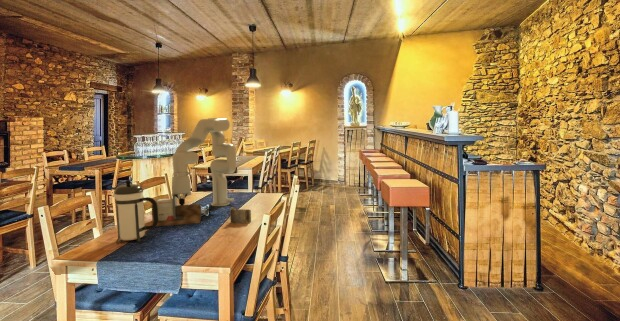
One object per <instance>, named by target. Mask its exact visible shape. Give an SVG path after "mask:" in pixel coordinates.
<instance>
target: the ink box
mask: <svg viewBox="0 0 620 321" xmlns="http://www.w3.org/2000/svg"><path fill="white" fill-rule="evenodd" d="M158 199H159V200H158V201H157V209H158V221H163V220H174V218H173V200H172V198H158Z"/></svg>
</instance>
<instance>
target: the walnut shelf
mask: <svg viewBox="0 0 620 321" xmlns="http://www.w3.org/2000/svg"><path fill="white" fill-rule="evenodd" d="M159 199H160V198H156V199H154V200H155V201H156V204H157V201H158V200H159ZM157 211H158V209H157ZM177 213H178V215H184V214H185V216H184V219H183V220H163V221H158V223H157V225H156V227H161V226H162V227H163V226H175V225H177V226H178V225H188V224H189V225H191V224H200V223H201V219H202V204H201V203H193V204H191V203H190V204H184V205H183V206H180V204H177ZM151 218H152V221H151V222H152V224H153V223H154V214H153V205H152V204H151Z"/></svg>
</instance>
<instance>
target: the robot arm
mask: <svg viewBox="0 0 620 321" xmlns="http://www.w3.org/2000/svg"><path fill="white" fill-rule="evenodd" d="M230 126H231V124H230V120H229V119H228V118H226V117H209V118H202V119H200V120H198V122H197V124H196V125H195V128H194V130H193V131H192V133H191V135H190V136H189V137H187V138H186V139H185V140H183V141H182V142H181V143H179V145H178V146H177V148H176V150H175V152H174V153H173V154H172V167H173V168H172V170H173V171H172V174H173V176H172V179H171V197H172V196H173V195H175V196H176V197H177V200H178V205H180V206H183V205H186V197H188V196H192V192H191V189H192V188H191V180H190V176H189V175H191V172H190V171H188V165H194V164H196V163H198V161H199V155H198V153H197V152H196V151H195V152H194V151H189V150H191V149H193V148H196V147H199V146H201V145H203V144H204V142H205V141H206V139H207V136H208V134H209V133H210V135H211V140H212V141H211V142H212V143H211V144H212V145H211V147H212V148H211V149H212V156H214V157H215V159H213V160H211V162H210V166H209V167H210V172H211V177H212V199H213V200H212V201H213V202H211V203H210V204H211V206H212V207H225V206H229V205H230V204H231V202H235V199H234V198H231V197H230V198H229V197H228V181H227V180H228V179H227V177H226V175H225V174H228V175H229V174H234V173H235V171H236V170H237V169H236V168H237V150H236V147H235V145H234V144H232V143H226V136H225V134H224V132H227V131H228V130H229V128H230ZM216 158H217V159H216ZM222 158H223V159H222ZM225 158H226V159H225ZM181 195H182V196H181Z"/></svg>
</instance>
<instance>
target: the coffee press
mask: <svg viewBox="0 0 620 321" xmlns="http://www.w3.org/2000/svg"><path fill="white" fill-rule="evenodd" d="M111 197H112V198H113V197H114V204H115V208H116V209H115V212H116V214H115V215H116V226H117V240H115V243H116V244H117V243H120V244H121V243H122V242H123V241H134V240H136V243H137V242H138V243H137V244H140V243H142V240H141V238H143V237H145V236H146V237H147V236H148V233H147V231H146V230H153V229H154V228H156V227H157V226H156V225H157V223H158V211H157V204H156V201H155V200H156V199H154V198H153V197H150V196H149V197H148V196H146V197H144V189H143V187H142V186H141V184H135V183H132V181H131V180H130V179H126V180H125V184H123V185H119V186H117V187H116V188H115V190H114V191H113V194H112V195H111ZM144 202H150V203H151V206H152V205H153V214H154V223H153V222H152V225H146V224H145V221H146V220H145V209H144V208H145V207H144V206H145V205H144Z"/></svg>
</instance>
